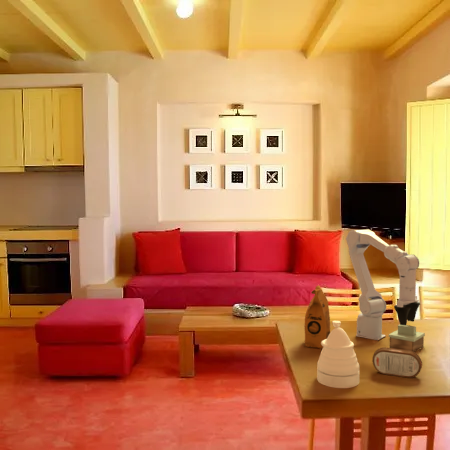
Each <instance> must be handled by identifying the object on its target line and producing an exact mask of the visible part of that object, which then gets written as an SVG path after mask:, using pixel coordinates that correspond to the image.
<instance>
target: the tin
mask: <svg viewBox="0 0 450 450" xmlns="http://www.w3.org/2000/svg"><path fill="white" fill-rule="evenodd" d="M422 361H423V360H422V359H421V357H420V355H419V354H418V353H416V352H413V351H410V350H402V349H394V348H390V347H387V346H383V347H380V348H377V349H376V350H374V353H373V354H372V360H371V362H372V365H373V368H374V369H375V370H376V371H377V372H378V373H380V374H382V375H388V376H394V377H402V378H406V377H409V378H408V379H411V378H412V379H413V378H414V377H416V376H418V375H419V374H420V373H421V371H422V368H423V362H422Z"/></svg>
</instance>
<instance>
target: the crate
mask: <svg viewBox="0 0 450 450" xmlns="http://www.w3.org/2000/svg"><path fill="white" fill-rule="evenodd" d="M424 337H425V336H423V337H422V338H420V339H418V340H416V341H415V342H412V341H407V340H402V339H396V338H391V337H389V348H394V349H402V350H410V351H413V352H415V353H416V352H417V351H419V350H420V349H422V348H423V347H425V346H424V345H425V344H424V340H425V339H424Z"/></svg>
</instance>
